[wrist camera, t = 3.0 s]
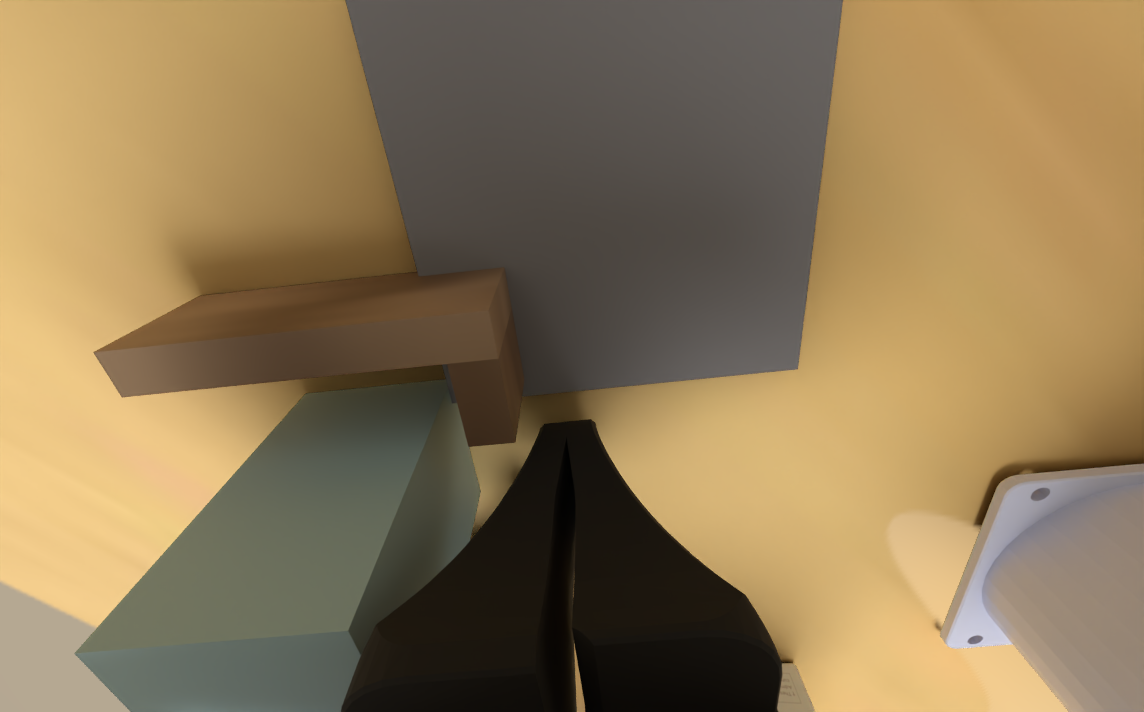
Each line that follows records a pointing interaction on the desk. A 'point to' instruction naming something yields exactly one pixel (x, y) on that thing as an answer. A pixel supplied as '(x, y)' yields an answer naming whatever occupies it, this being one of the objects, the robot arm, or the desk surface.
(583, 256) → the mat
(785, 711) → the supplement box
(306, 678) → the block
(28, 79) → the desk surface
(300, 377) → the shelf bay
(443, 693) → the robot arm
